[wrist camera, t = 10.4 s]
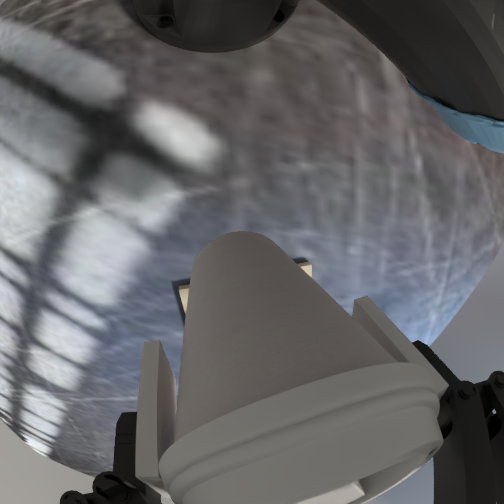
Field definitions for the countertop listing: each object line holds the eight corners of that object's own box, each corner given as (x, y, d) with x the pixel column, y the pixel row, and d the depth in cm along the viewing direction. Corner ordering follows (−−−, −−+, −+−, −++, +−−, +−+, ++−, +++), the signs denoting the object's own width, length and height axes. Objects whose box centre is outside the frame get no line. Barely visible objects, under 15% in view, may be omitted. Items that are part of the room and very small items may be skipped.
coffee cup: (303, 320, 22) (399, 488, 8) (181, 340, 20) (201, 544, 7) (309, 200, 18) (516, 360, 4) (155, 216, 16) (92, 495, 3)
